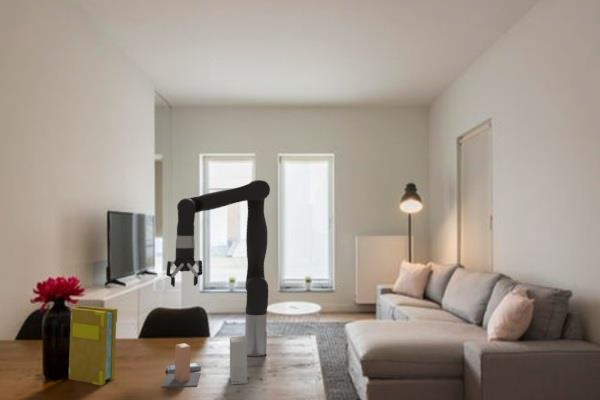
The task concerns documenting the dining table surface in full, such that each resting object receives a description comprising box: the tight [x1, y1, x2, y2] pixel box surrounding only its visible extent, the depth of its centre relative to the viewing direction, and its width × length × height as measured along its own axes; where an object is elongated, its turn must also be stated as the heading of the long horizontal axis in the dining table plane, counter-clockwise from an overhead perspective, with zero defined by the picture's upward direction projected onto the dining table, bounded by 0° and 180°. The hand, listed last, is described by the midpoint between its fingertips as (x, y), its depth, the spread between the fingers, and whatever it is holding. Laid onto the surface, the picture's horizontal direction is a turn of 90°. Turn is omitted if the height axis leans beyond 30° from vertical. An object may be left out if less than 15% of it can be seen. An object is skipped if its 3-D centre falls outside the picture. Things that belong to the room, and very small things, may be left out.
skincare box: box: [229, 335, 248, 385], centre depth 156 cm, size 8×6×15 cm
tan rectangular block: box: [174, 342, 191, 382], centre depth 155 cm, size 4×5×12 cm
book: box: [68, 305, 119, 386], centre depth 155 cm, size 17×7×25 cm, turn 71°
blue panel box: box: [166, 361, 202, 374], centre depth 165 cm, size 12×5×2 cm, turn 112°
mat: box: [161, 372, 202, 389], centre depth 155 cm, size 12×12×1 cm
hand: (184, 286), depth 178 cm, fingers open, 8 cm apart
